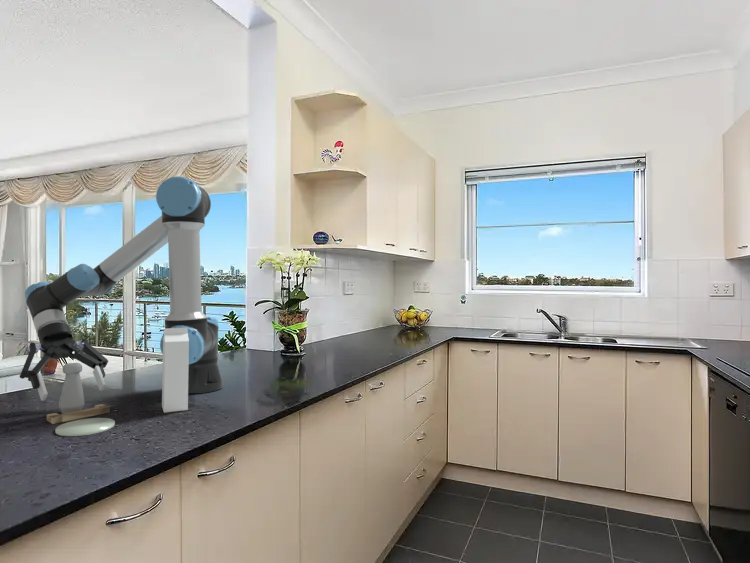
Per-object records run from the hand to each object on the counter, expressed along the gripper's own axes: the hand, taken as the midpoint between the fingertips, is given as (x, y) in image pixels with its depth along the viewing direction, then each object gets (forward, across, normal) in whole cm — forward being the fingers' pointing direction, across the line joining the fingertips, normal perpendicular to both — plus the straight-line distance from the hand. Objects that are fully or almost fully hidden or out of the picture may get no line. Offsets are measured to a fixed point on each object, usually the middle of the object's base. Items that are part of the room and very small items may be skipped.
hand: (75, 392), depth 122 cm
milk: (+14, -19, +6) cm, 25 cm away
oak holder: (+6, 0, -2) cm, 6 cm away
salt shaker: (+3, 0, -6) cm, 6 cm away
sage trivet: (+14, +3, +6) cm, 15 cm away
